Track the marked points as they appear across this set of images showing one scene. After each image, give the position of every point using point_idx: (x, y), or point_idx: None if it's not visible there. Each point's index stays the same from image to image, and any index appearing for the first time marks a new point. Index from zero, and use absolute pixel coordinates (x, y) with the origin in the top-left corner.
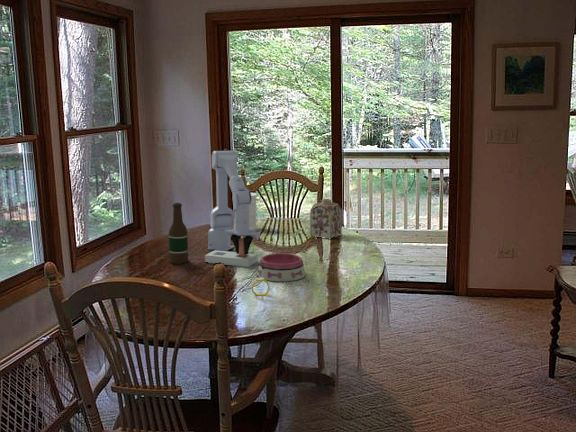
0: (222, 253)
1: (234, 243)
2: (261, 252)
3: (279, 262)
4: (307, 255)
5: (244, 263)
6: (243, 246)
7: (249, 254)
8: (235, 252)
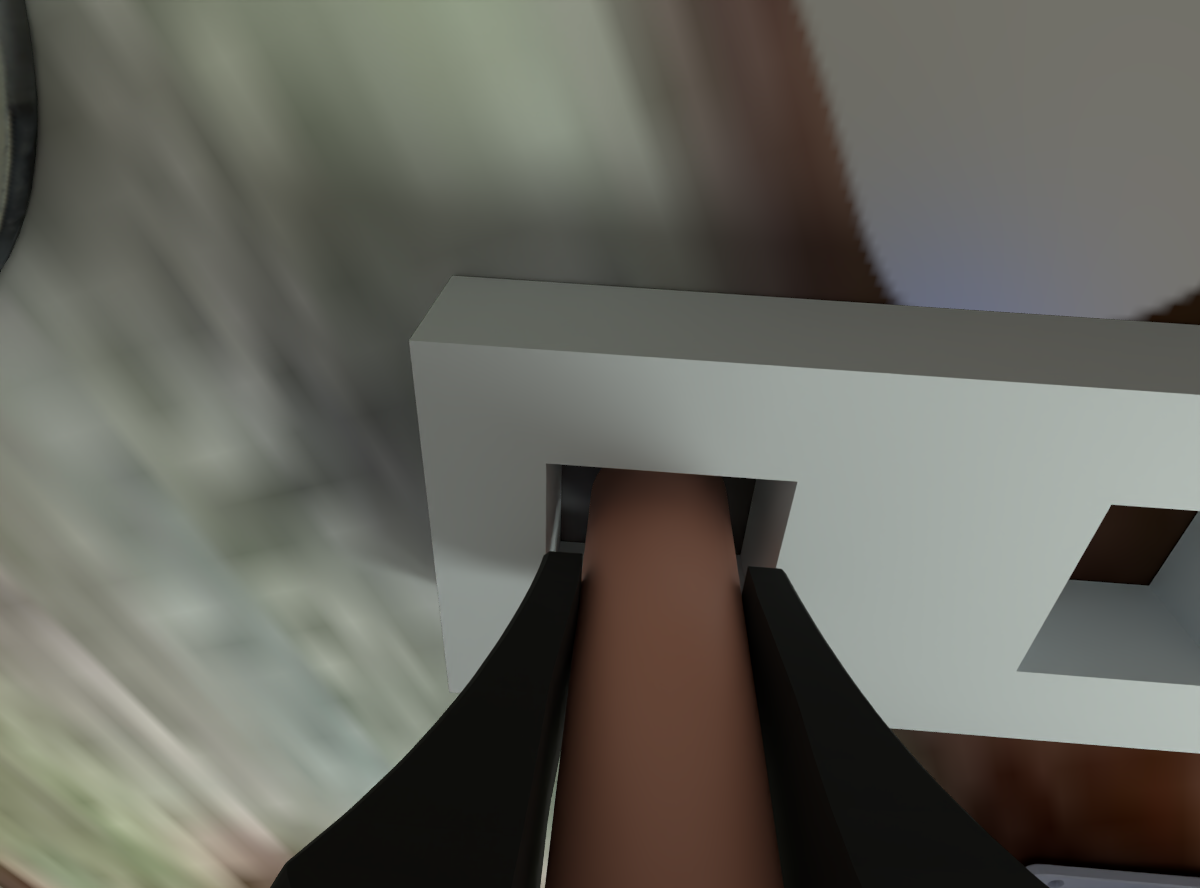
0: (1108, 661)
1: (895, 777)
2: None
3: None
4: (92, 851)
5: (525, 304)
6: (599, 713)
7: None
8: None
